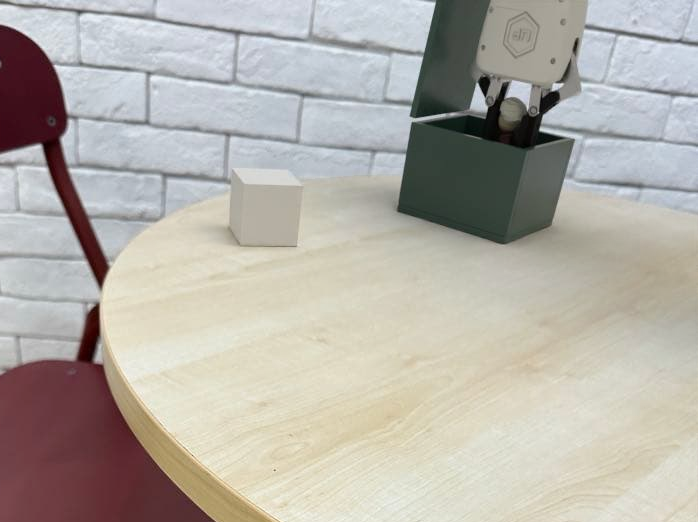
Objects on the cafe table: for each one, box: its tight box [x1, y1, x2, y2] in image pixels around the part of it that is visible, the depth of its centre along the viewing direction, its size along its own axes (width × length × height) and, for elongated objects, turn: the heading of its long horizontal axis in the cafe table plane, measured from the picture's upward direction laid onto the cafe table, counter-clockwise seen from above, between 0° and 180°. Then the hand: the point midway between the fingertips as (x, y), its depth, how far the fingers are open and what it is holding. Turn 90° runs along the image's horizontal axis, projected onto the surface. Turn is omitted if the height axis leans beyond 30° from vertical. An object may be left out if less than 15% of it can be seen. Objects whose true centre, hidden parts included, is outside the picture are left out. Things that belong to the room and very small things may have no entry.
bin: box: [396, 112, 576, 245], centre depth 100 cm, size 15×13×10 cm
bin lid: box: [409, 0, 491, 119], centre depth 96 cm, size 16×13×5 cm
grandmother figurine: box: [497, 96, 528, 146], centre depth 98 cm, size 8×4×13 cm, turn 168°
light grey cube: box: [228, 167, 304, 247], centre depth 87 cm, size 6×6×6 cm
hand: (507, 147), depth 97 cm, fingers closed on grandmother figurine, 3 cm apart
